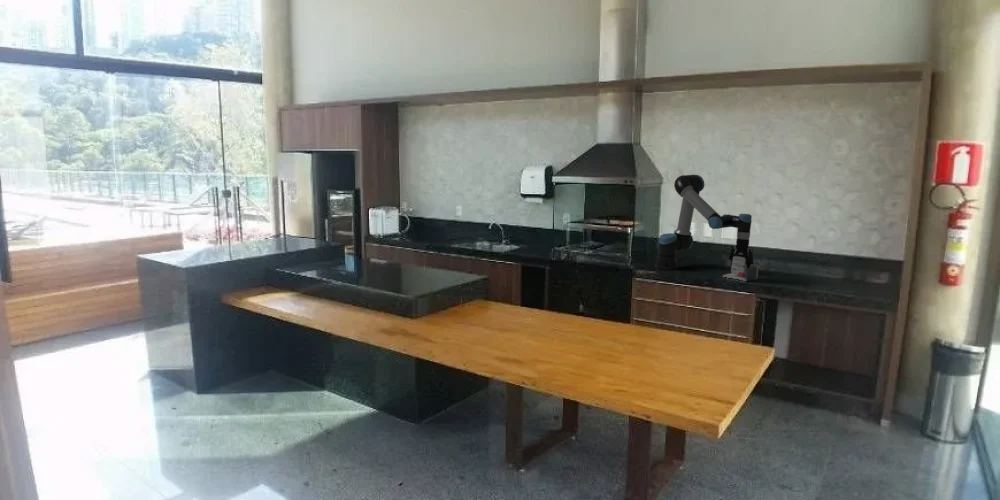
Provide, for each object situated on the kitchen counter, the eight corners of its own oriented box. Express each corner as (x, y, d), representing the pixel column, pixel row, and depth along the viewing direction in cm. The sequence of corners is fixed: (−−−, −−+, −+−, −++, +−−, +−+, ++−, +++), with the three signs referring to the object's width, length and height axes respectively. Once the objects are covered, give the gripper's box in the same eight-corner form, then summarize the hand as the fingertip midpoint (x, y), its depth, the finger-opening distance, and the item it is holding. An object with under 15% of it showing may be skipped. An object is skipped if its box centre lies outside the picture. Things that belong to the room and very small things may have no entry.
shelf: (722, 277, 375) (723, 263, 373) (735, 274, 382) (736, 261, 380) (745, 282, 362) (746, 268, 360) (757, 279, 369) (758, 265, 367)
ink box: (747, 275, 370) (749, 257, 367) (743, 277, 367) (745, 258, 364) (734, 273, 376) (736, 255, 374) (730, 274, 373) (732, 256, 371)
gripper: (724, 236, 373) (721, 270, 378) (755, 241, 356) (751, 277, 360) (731, 235, 377) (728, 268, 382) (762, 240, 360) (758, 275, 365)
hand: (739, 272), depth 371 cm, fingers closed on ink box, 9 cm apart
